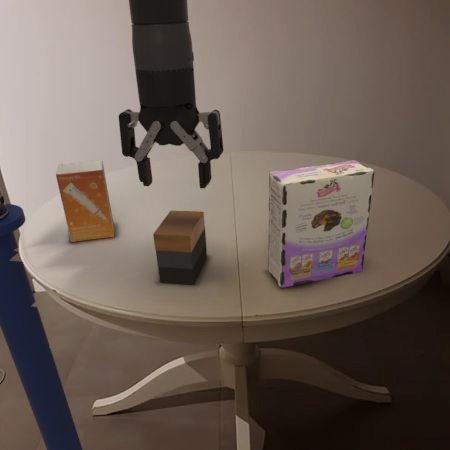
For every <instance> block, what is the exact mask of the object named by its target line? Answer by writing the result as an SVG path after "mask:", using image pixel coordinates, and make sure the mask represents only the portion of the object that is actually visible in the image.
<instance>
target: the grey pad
mask: <svg viewBox="0 0 450 450" xmlns="http://www.w3.org/2000/svg"><path fill="white" fill-rule="evenodd" d="M206 235H207V234H206V227H205V228H204V230H203V232H202V234H201V235H200V237H199V239H198V241H197V243H196V245H195V246H194V248H193V250H192V252H191V253H190V252H172V251H156V250H155V256H156V261H157V262H156V263H157V268H158V267H169V268H185V269H193V268H194V266H195V264H196V262H197V260H198V258H199V256H200V254H201V252H202V250H203V248H204V246H205V244H206V245H207V236H206Z"/></svg>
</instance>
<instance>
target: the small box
mask: <svg viewBox="0 0 450 450" xmlns="http://www.w3.org/2000/svg"><path fill="white" fill-rule="evenodd" d="M55 177H56V182H57V187H58V190H59V195H60V199H61V203H62V208H63V212H64V217H65V221H66V225H67V230H68V234H69V239H70V242H71V243H76V242H82V241H90V240H98V239H106V238H115V227H114V218H113V213H112V212H113V211H112V208H111V207H112V205H111V201H110V196H109V191H108V184H107V179H106V178H107V177H106V173H105V167H104V161H103V159H99V160H89V161H88V160H87V161H77V162H71V163H61V164H57V166H56V173H55Z"/></svg>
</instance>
